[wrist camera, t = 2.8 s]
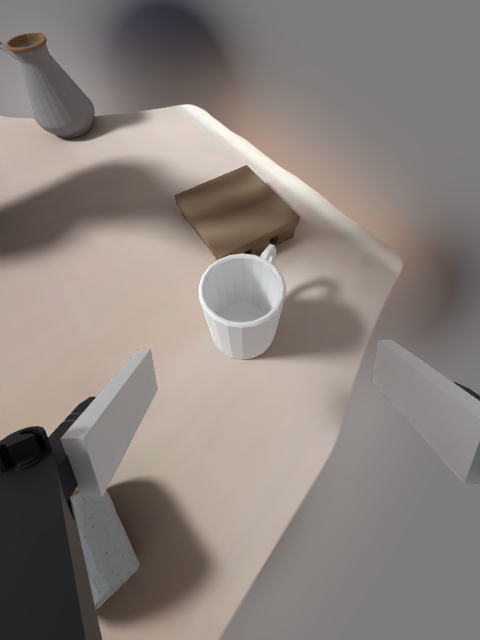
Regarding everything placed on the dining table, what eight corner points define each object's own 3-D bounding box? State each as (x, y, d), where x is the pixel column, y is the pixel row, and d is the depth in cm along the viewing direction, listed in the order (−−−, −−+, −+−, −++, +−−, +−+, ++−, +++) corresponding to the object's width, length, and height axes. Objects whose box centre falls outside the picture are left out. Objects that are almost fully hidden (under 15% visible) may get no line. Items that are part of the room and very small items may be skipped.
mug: (296, 293, 34) (313, 242, 25) (257, 371, 30) (262, 341, 21) (243, 272, 36) (242, 216, 27) (200, 342, 31) (181, 303, 23)
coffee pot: (111, 119, 54) (67, 12, 41) (76, 149, 50) (13, 40, 36) (38, 100, 58) (-25, -2, 45) (-1, 126, 54) (-83, 22, 41)
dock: (179, 214, 41) (174, 195, 38) (246, 184, 44) (246, 165, 41) (222, 272, 36) (220, 256, 33) (295, 235, 39) (299, 216, 35)
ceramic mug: (114, 469, 26) (63, 482, 19) (154, 552, 23) (111, 603, 16) (11, 551, 23) (-92, 601, 16) (41, 655, 20) (-69, 770, 13)
